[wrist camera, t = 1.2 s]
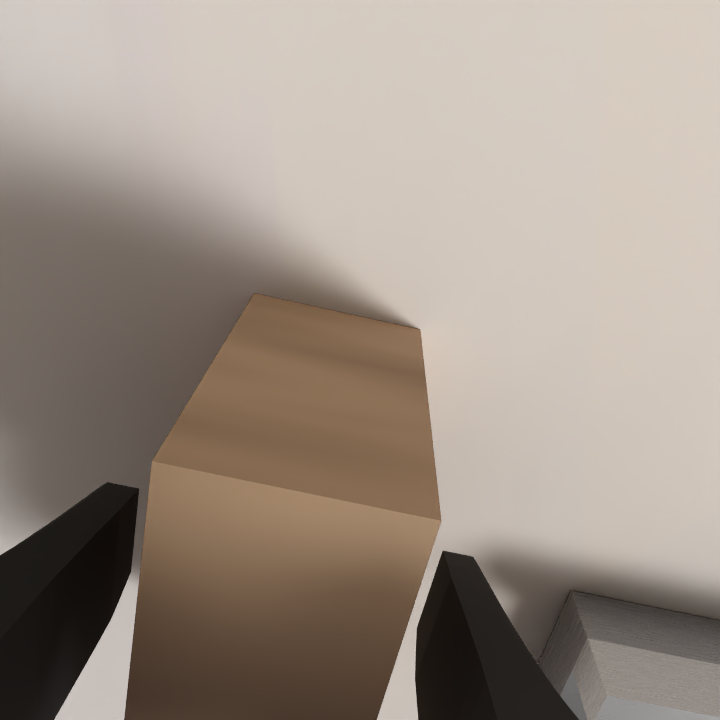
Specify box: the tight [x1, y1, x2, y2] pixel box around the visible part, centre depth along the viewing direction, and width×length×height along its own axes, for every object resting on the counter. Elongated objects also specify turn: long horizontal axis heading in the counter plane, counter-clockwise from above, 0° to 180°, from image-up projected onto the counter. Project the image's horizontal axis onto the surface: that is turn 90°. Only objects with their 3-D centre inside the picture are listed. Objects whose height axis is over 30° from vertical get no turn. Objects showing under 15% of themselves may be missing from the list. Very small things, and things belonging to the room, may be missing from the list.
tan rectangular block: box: [124, 293, 441, 720], centre depth 13 cm, size 8×4×6 cm, turn 168°
